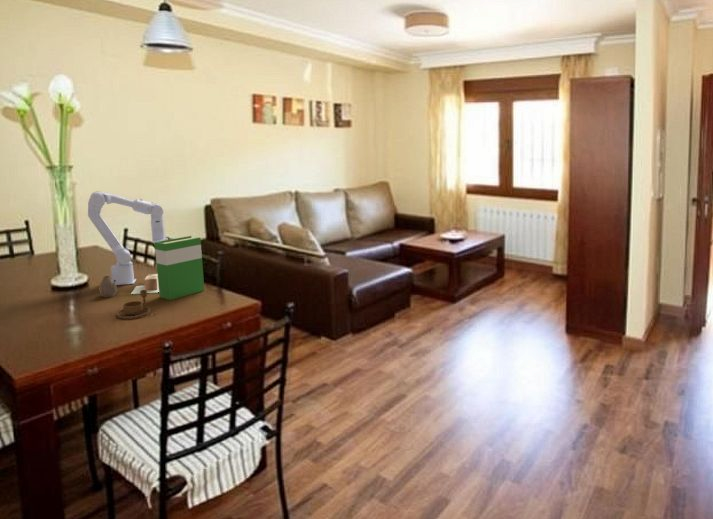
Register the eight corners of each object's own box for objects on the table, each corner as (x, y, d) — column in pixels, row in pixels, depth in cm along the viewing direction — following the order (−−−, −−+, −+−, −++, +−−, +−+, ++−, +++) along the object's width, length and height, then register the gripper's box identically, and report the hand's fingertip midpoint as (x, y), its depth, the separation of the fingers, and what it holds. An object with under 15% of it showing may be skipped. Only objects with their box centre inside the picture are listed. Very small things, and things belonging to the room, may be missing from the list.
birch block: (149, 284, 253) (145, 290, 243) (147, 274, 252) (144, 279, 242) (160, 284, 254) (157, 289, 244) (159, 273, 253) (156, 278, 243)
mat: (130, 294, 238) (130, 293, 238) (136, 286, 251) (136, 285, 251) (169, 292, 242) (169, 291, 242) (172, 284, 254) (172, 283, 254)
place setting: (104, 317, 210) (102, 302, 209) (143, 303, 228) (142, 289, 227) (138, 323, 204) (137, 308, 202) (176, 308, 221) (175, 293, 220)
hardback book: (194, 288, 248) (190, 235, 243) (204, 290, 244) (200, 237, 238) (159, 297, 234) (154, 242, 229) (169, 300, 230) (164, 244, 225)
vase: (121, 294, 239) (118, 275, 237) (109, 299, 232) (106, 279, 230) (108, 293, 241) (106, 274, 239) (96, 297, 235) (94, 277, 233)
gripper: (164, 231, 253) (167, 260, 256) (168, 226, 267) (171, 254, 270) (148, 232, 252) (151, 261, 255) (153, 227, 266) (156, 254, 269)
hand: (160, 257), depth 262 cm, fingers closed
